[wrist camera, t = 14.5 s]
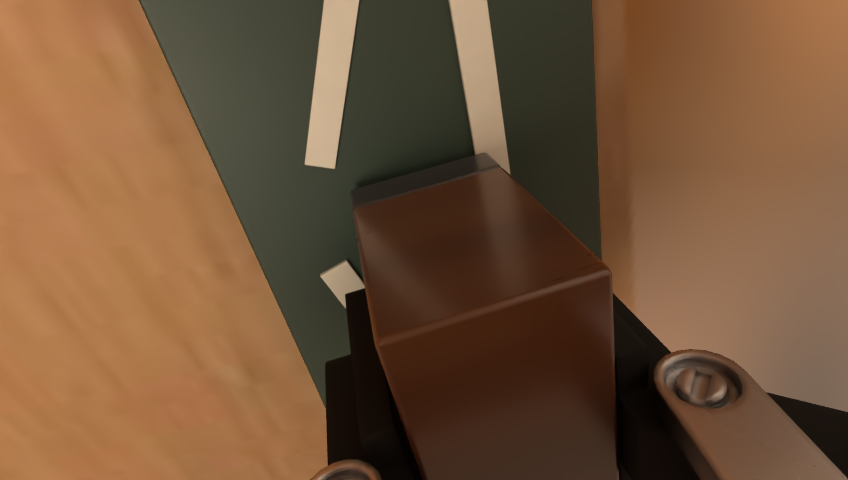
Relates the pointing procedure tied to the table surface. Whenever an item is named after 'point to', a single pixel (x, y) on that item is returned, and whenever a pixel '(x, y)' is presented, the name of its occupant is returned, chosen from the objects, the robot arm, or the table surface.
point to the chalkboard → (377, 121)
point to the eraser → (489, 326)
